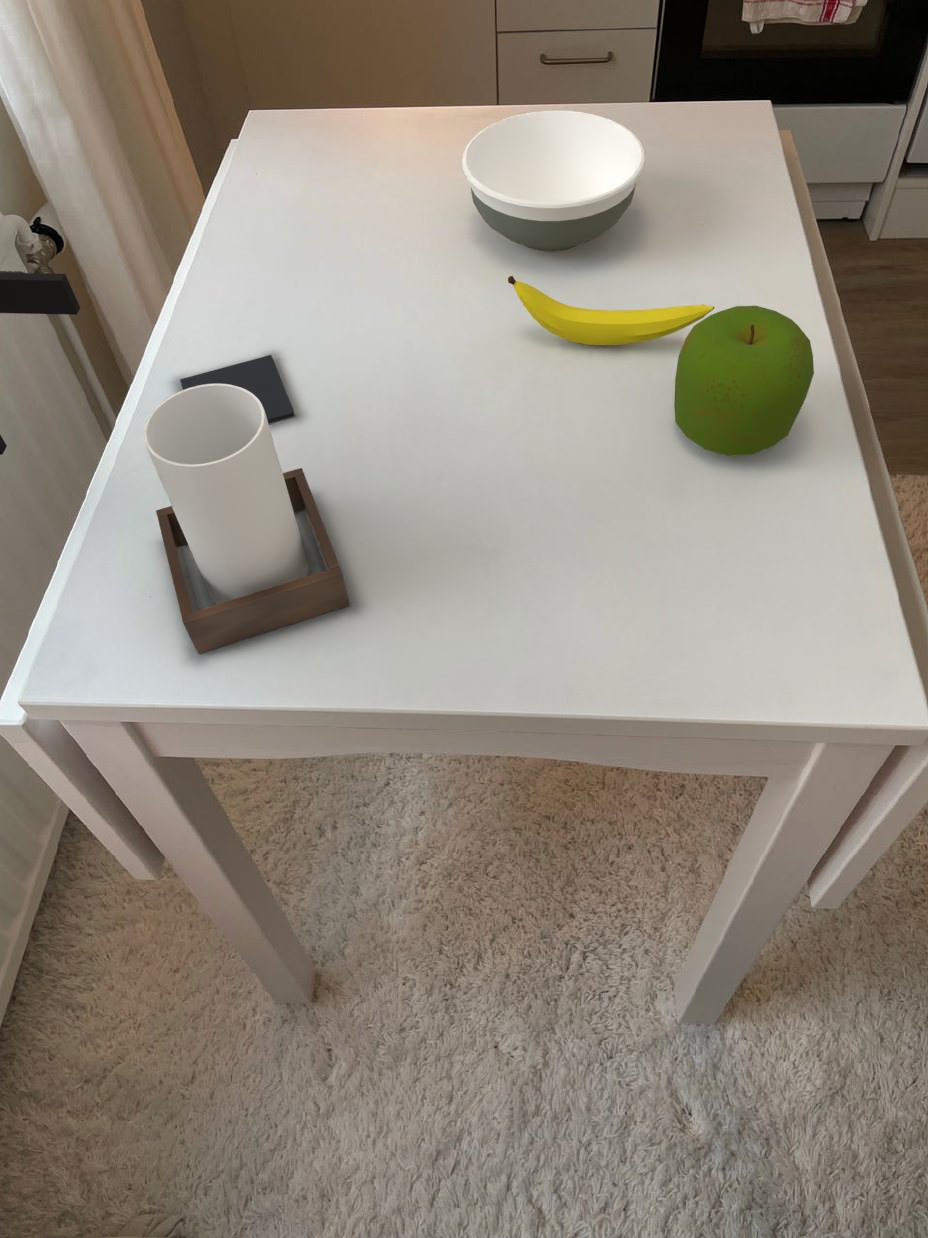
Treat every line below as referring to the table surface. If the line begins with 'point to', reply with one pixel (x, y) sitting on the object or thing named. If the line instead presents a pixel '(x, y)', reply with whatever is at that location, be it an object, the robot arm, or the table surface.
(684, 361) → the apple
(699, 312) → the banana
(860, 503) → the table surface
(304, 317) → the table surface
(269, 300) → the table surface
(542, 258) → the table surface
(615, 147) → the bowl
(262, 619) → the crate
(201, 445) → the cup
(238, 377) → the pad
